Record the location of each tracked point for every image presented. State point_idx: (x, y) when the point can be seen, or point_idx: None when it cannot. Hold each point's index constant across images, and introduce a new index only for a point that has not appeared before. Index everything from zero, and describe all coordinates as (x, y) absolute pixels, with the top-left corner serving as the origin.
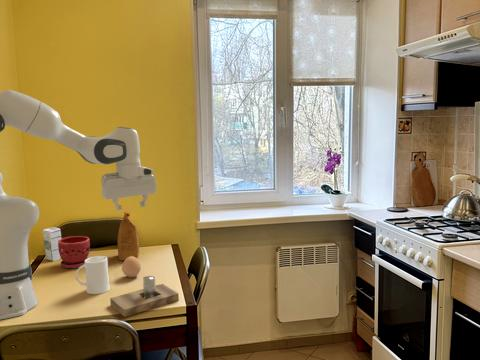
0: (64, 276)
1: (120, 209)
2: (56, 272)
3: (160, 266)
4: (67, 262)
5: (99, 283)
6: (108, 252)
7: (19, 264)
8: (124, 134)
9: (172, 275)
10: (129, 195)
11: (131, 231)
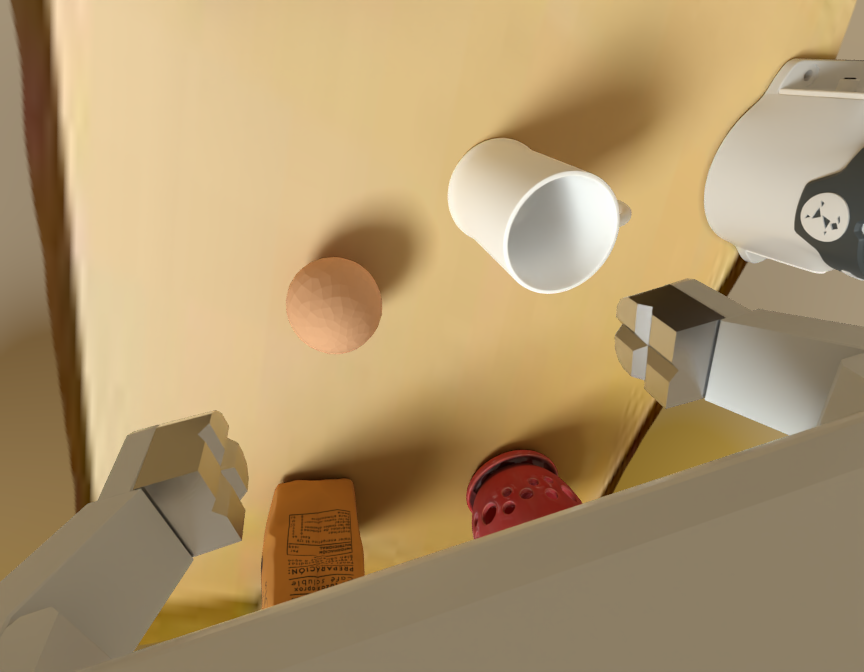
0: (562, 389)
1: (642, 294)
2: (573, 433)
3: (176, 367)
4: (546, 469)
5: (518, 148)
6: (378, 565)
7: None
8: None
9: (111, 213)
10: (649, 510)
11: (298, 596)
